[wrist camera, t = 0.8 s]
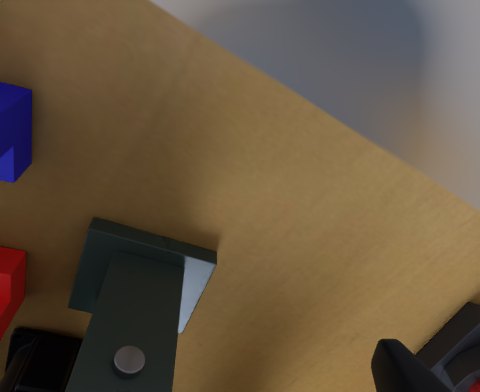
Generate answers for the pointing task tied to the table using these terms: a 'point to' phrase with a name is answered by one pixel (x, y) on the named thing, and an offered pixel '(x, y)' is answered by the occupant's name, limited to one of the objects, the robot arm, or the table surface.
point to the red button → (475, 387)
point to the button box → (456, 350)
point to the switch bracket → (134, 307)
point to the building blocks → (10, 169)
